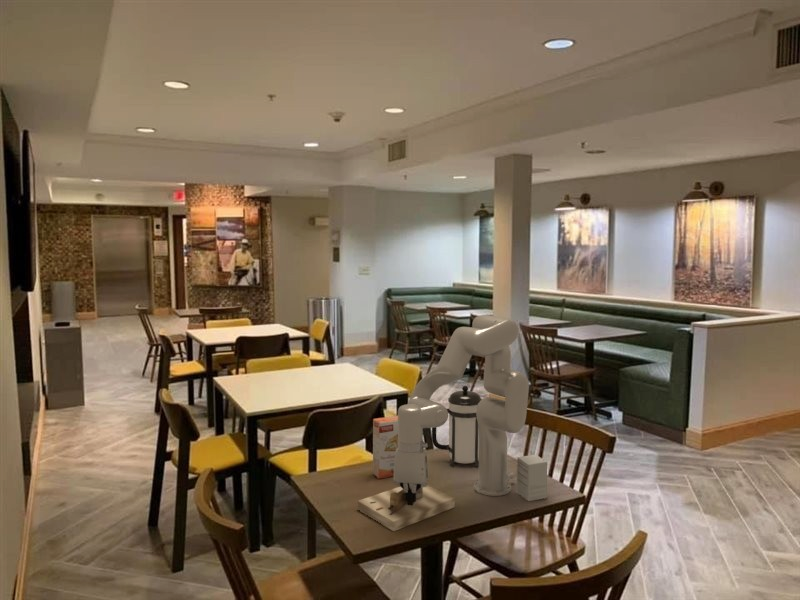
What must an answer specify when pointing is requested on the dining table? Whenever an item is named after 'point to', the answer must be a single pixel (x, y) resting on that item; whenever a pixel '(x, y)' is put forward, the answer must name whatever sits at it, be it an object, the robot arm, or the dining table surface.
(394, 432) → the cracker box
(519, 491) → the supplement box
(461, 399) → the coffee press
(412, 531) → the dining table surface
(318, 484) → the dining table surface
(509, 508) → the dining table surface
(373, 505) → the dial board
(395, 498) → the lever
